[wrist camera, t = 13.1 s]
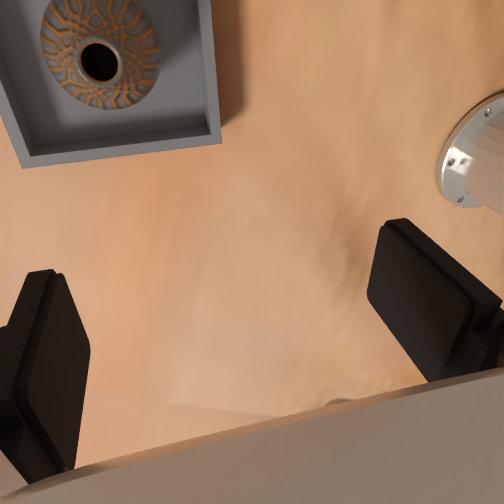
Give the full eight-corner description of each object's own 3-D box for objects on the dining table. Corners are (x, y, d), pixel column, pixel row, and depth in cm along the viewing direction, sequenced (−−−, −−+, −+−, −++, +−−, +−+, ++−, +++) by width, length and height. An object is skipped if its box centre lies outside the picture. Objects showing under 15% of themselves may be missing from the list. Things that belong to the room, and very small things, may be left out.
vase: (70, -44, 23) (46, -57, 16) (173, 22, 27) (189, 34, 20) (38, 64, 26) (6, 92, 19) (135, 112, 29) (138, 150, 22)
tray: (194, -100, 24) (201, -109, 21) (215, 132, 32) (222, 143, 30) (-68, -100, 21) (-93, -111, 19) (30, 154, 29) (22, 168, 27)
